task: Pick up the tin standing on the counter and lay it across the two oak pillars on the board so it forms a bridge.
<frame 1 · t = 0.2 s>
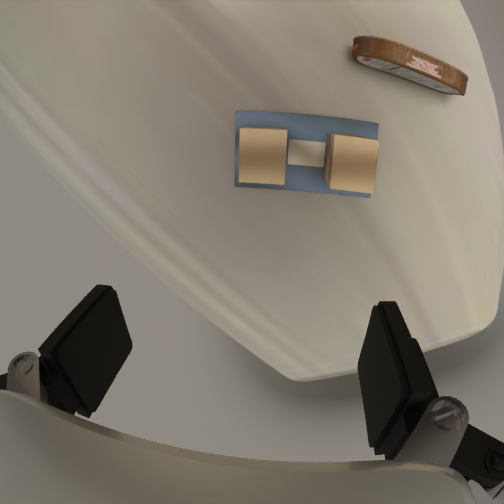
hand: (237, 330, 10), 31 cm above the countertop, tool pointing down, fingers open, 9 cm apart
tin: (400, 70, 29), on the countertop
bridge base: (306, 152, 36), on the countertop
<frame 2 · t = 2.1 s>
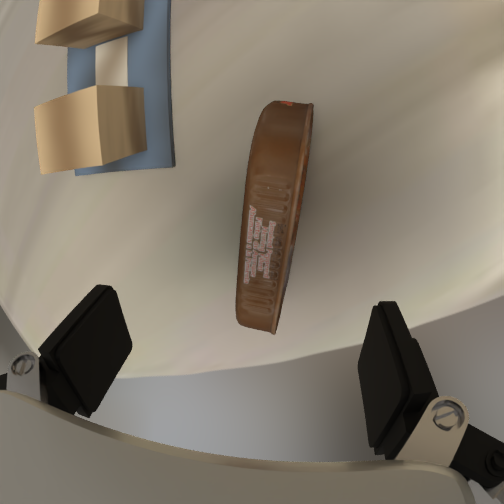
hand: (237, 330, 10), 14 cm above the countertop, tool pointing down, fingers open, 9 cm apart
tin: (280, 202, 22), on the countertop
bridge base: (115, 66, 19), on the countertop
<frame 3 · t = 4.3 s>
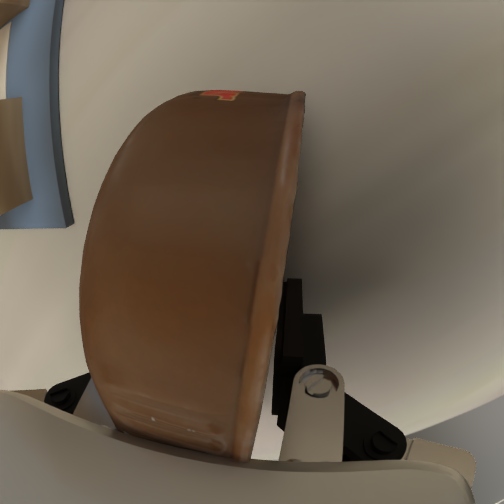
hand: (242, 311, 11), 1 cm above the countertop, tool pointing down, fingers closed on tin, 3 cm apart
tin: (242, 290, 12), on the countertop, touching gripper
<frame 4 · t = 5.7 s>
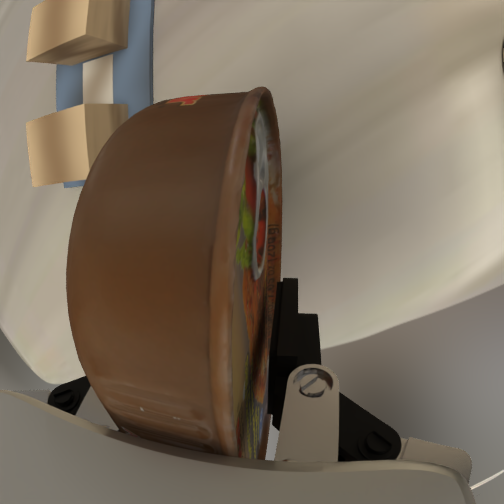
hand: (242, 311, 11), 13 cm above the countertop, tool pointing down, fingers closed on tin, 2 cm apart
tin: (242, 290, 13), point 12 cm above the countertop, touching gripper
bridge base: (101, 83, 20), on the countertop
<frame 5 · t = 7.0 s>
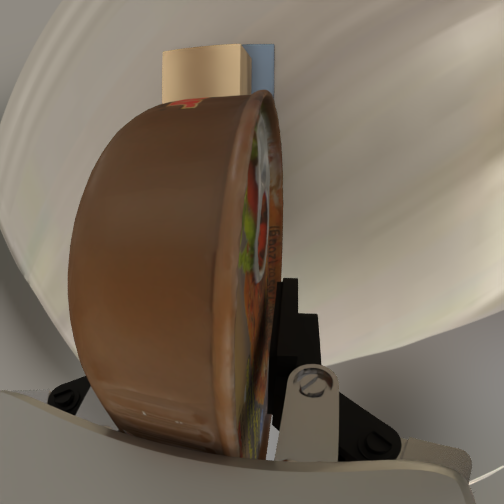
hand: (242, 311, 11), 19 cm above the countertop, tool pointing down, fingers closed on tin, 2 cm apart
tin: (243, 291, 13), point 18 cm above the countertop, touching gripper
bridge base: (220, 135, 27), on the countertop
when the fingers open (9 cm above the countertop, at t = 9.1 s): tin drops 1 cm, resting on bridge base.
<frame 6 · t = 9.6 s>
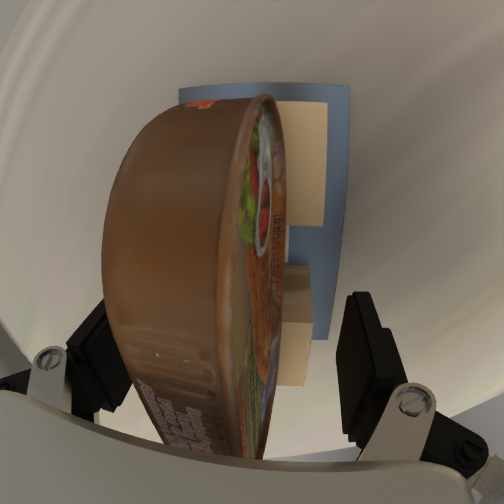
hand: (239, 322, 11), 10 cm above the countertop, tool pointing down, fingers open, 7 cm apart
tin: (249, 276, 14), point 6 cm above the countertop, touching bridge base
bridge base: (264, 225, 19), on the countertop
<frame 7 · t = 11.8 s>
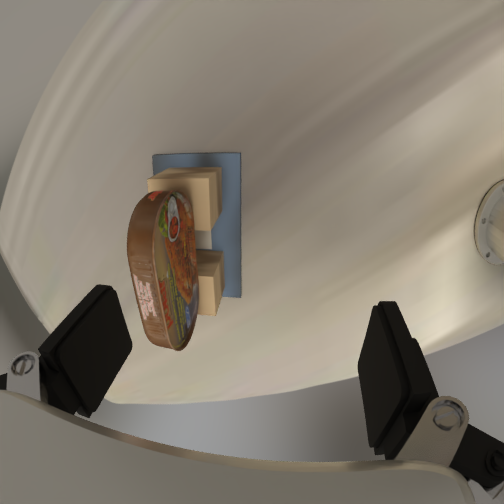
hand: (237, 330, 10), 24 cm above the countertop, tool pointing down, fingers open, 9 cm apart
tin: (182, 253, 29), point 6 cm above the countertop, touching bridge base
bridge base: (199, 228, 35), on the countertop
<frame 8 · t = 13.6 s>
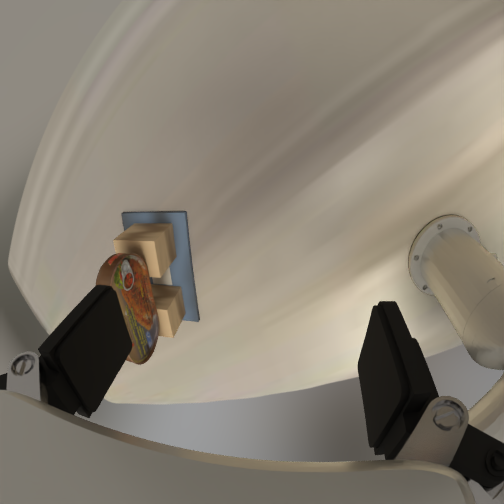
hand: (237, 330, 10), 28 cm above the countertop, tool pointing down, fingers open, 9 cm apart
tin: (143, 292, 38), point 6 cm above the countertop, touching bridge base
bridge base: (161, 268, 44), on the countertop
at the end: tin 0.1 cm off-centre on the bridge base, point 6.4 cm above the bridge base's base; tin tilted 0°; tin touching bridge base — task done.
